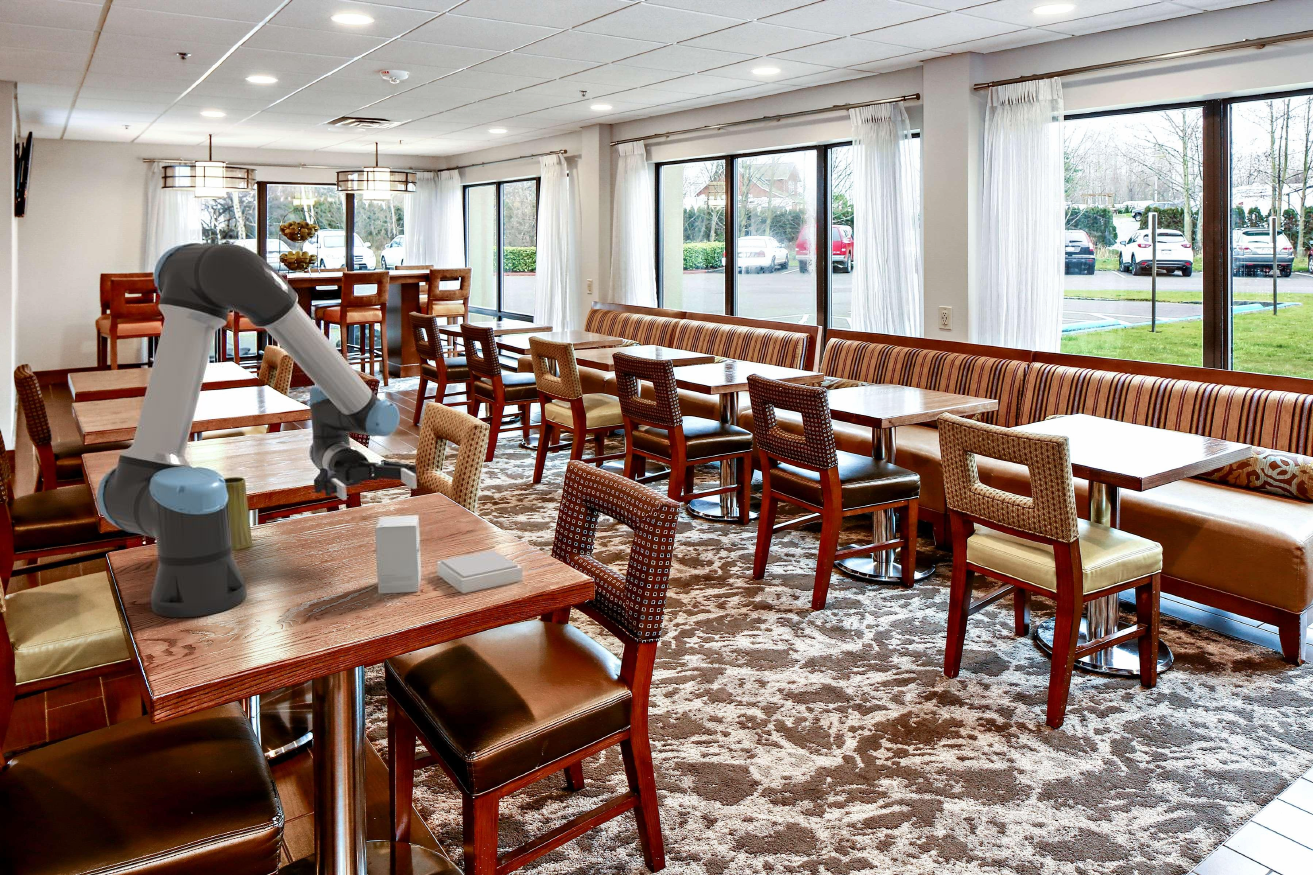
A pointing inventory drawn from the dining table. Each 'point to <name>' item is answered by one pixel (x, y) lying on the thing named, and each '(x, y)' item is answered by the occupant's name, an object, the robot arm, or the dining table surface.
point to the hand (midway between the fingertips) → (380, 487)
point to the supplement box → (398, 554)
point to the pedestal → (479, 571)
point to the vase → (238, 513)
